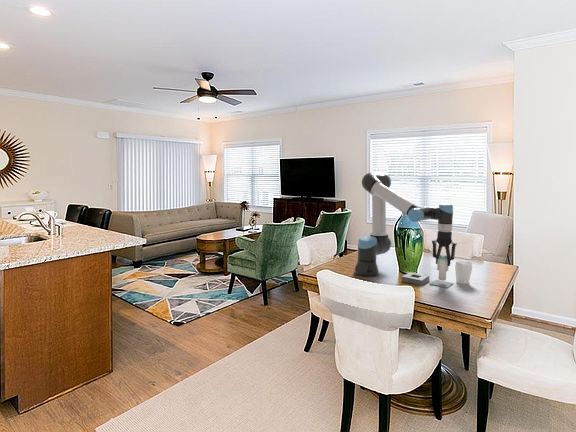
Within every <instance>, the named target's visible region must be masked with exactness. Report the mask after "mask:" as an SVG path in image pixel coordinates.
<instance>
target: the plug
mask: <svg viewBox="0 0 576 432" xmlns="http://www.w3.org/2000/svg"><path fill="white" fill-rule="evenodd" d="M446 260H447V255H445V254H444V255H443V254H440V255H439V270H438V279H437V280H440V281H445V282H446V280H447V272H445V268H446Z"/></svg>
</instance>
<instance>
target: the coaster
mask: <svg viewBox="0 0 576 432" xmlns="http://www.w3.org/2000/svg"><path fill="white" fill-rule="evenodd" d="M429 285H431V286H433V287H434V286H435V287H439V288H444V289H448V288H450V287H451V286H453V285H454V282H450V281H446V280H445V281H442V280H439V279H435V280H433V281H432V282H430V283H429Z"/></svg>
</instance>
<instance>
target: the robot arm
mask: <svg viewBox="0 0 576 432" xmlns="http://www.w3.org/2000/svg"><path fill="white" fill-rule="evenodd" d="M361 185H362V187H363V189H364V190H365V191H367V192H368V193H369V194H370V195H371V197H372V198H371V206H372V207H371V209H372V213H371V216H372V217H371V219H372V222H371V223H372V224H371V225H372V227H371V228H372V231H371V233H370V234H369V236H368V235H367V236H362V237H360V238H359V239H358V242H357V262H356V263H355V264H356V265H355V268H354V274H355V275H358V276H361V277H368V278H369V277H376V276H378V275H379V273H380V271H379V267H378V264H377V256H379V255H383V254H386V253H389V251H390V250H391V248H392V241H391V239H390V237H389V233H388V232H387V231H386V230H387V229H386V228H387V227H386V226H387V225H386V224H387V223H386V222H387V221H386V220H387V218H386V215H387V214H386V211H387V209H386V208H387V207H386V205H387V204H386V203H388V204H389V205H391V206H392V207H394V208H396V209H397V210H398V211H400V212H402V213H403V214H405V215H406V216H407V217H408V219H409V221H411V222H415V223H417V222H421V221H425V220H426V221H427V220H434V221H435V220H436V221H437V237H436V239H433V240H432V241H431V244H432V258H435V265H437V266H436V271H439V255H441V253H442V249H443V248H445V254H446V255H445V256H447V260H446V268H445V272H446V273H447V272H448V271H449V267H450V266H451V261H453V260H455V257H456V256H455V255H456V246H457V242H453V239H452V236H453V232H452V231H453V217H454V206H453V205H452V204H451V203H439V205H438V206H431V205H430V206H429V205H420V206H418V205H417V204H415V203H413V202H411V201H410V200H409V199H407V198H405V197H404V196H402V195H401V194H399V193H397V192H396V191H394V190H393V189H391V185H392V179H391V177H390V176H389V175H388V173H386V172H381V171H379V172H368V173H365V175H364V176H363V177H362V179H361ZM437 244H438V246H437ZM450 245H451V249H450ZM437 247H438V248H437Z"/></svg>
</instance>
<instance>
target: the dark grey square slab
mask: <svg viewBox="0 0 576 432" xmlns="http://www.w3.org/2000/svg"><path fill="white" fill-rule="evenodd" d="M403 281H404V283H409V284H414V285H417V286H422V285H424V284H426V283H428V282H429V281H430V275H427V274H422V273H417V272H411V271H410V272H407V273H406V274H403V275H402V276H401V282H403Z"/></svg>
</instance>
